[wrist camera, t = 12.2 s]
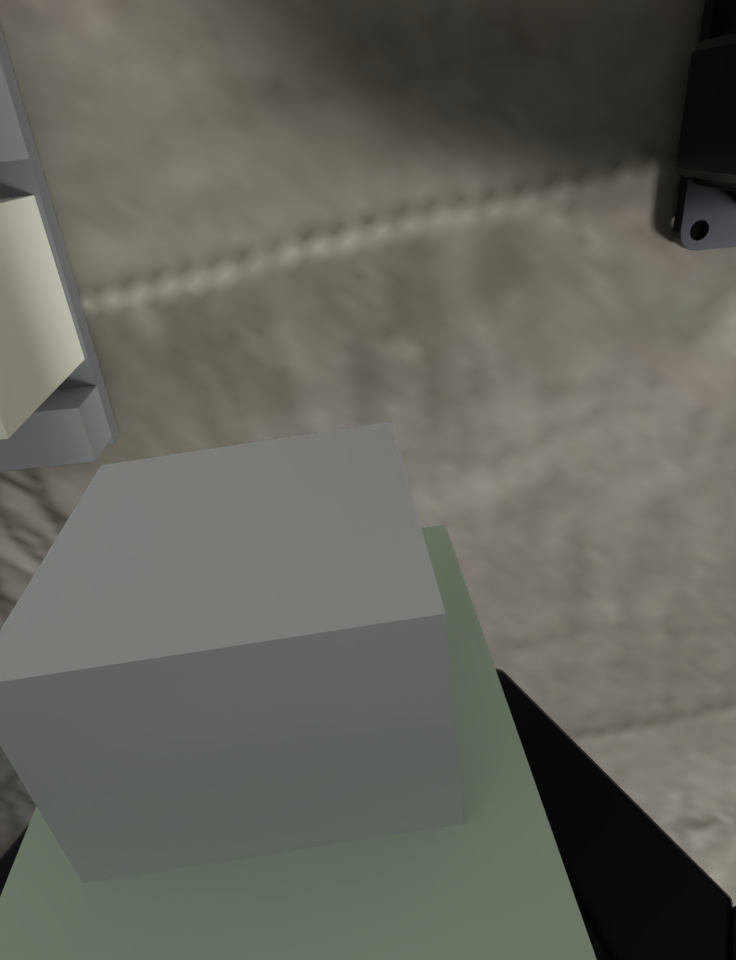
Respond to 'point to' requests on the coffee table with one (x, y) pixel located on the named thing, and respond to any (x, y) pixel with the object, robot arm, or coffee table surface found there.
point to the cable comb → (82, 395)
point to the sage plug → (268, 726)
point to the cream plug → (30, 316)
